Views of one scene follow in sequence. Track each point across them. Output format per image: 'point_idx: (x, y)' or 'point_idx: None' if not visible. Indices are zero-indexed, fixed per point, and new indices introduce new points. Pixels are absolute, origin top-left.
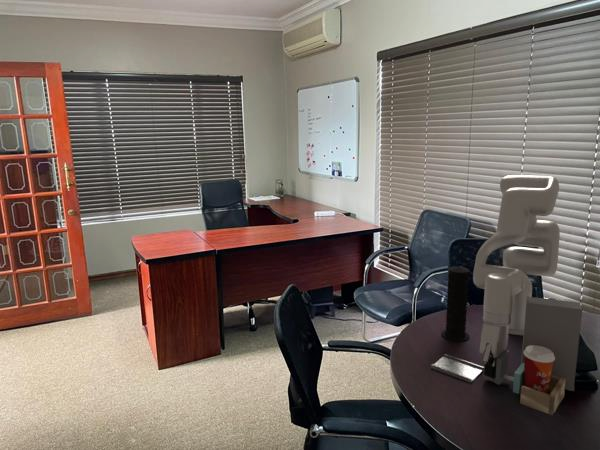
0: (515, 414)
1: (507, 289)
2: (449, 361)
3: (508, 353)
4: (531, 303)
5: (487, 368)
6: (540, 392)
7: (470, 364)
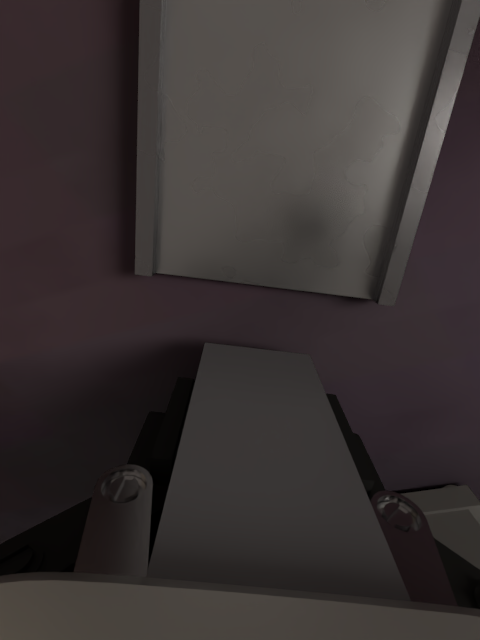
0: (3, 526)
1: None
2: None
3: None
4: None
5: (131, 457)
6: None
7: (406, 185)
